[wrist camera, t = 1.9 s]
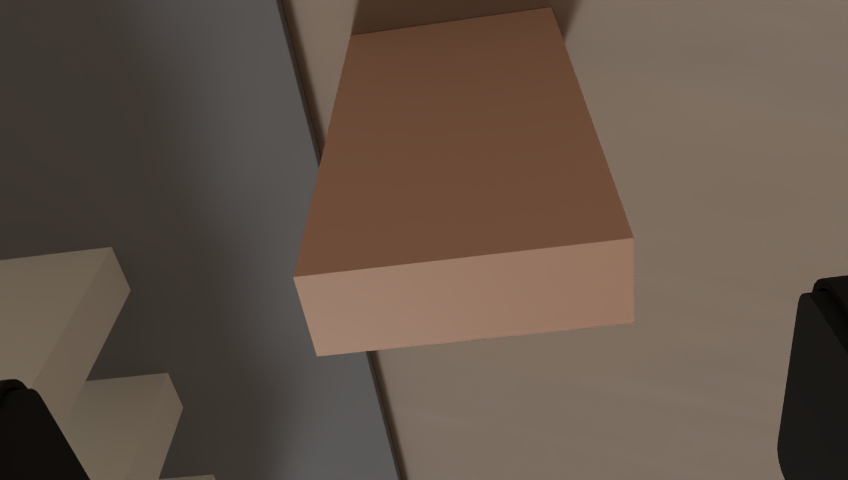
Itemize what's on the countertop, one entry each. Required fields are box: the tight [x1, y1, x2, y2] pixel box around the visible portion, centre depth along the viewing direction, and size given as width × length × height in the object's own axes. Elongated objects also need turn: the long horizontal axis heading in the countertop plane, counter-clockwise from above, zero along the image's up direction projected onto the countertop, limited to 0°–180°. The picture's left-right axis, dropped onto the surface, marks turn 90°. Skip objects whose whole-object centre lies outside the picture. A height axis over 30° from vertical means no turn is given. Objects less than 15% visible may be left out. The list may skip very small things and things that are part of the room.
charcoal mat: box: [0, 0, 402, 480], centre depth 28 cm, size 17×33×1 cm, turn 9°
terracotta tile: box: [293, 7, 634, 356], centre depth 16 cm, size 5×2×10 cm, turn 99°
